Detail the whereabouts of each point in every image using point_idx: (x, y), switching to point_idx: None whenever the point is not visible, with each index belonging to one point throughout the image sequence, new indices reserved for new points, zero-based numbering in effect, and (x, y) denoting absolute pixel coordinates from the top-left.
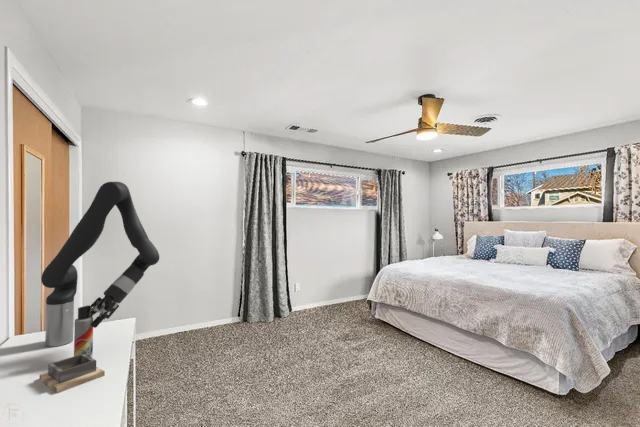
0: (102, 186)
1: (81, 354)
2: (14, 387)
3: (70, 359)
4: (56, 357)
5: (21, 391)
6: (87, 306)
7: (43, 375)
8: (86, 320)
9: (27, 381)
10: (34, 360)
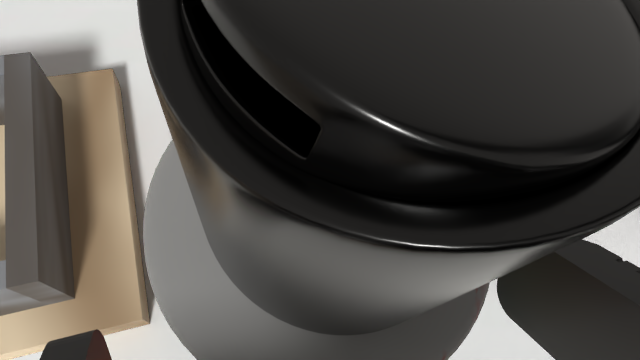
0: None
1: (28, 262)
2: (109, 3)
3: (9, 180)
4: None
5: (21, 18)
6: (208, 7)
7: (76, 81)
8: (146, 233)
9: (141, 45)
10: None
